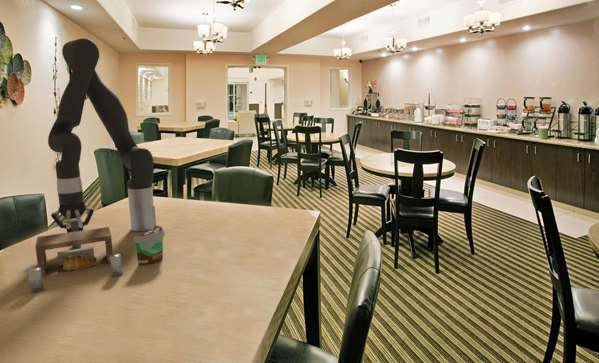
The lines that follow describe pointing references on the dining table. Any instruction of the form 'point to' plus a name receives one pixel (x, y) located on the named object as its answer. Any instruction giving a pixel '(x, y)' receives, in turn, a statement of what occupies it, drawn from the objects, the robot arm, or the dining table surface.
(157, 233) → the food container
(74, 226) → the scraper
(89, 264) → the pastry
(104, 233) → the low shelf
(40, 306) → the dining table surface
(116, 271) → the goal posts
